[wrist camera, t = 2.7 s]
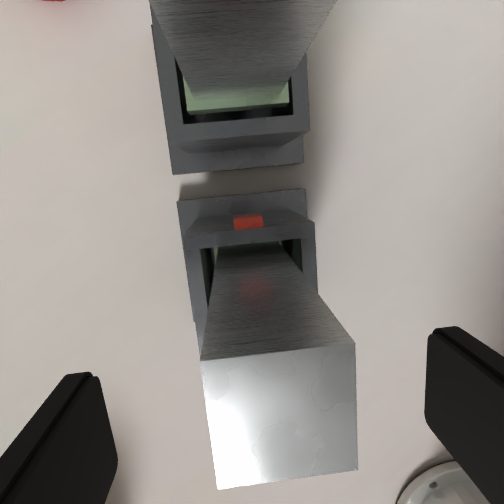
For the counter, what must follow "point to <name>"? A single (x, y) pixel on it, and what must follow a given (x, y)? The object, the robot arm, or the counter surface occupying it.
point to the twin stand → (234, 80)
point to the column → (275, 372)
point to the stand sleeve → (242, 236)
